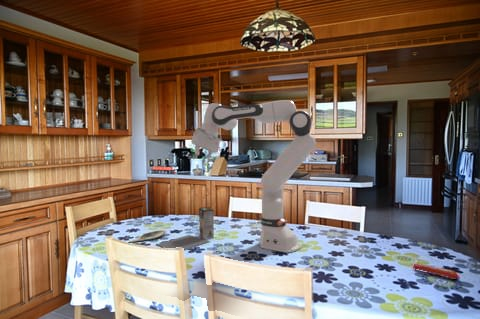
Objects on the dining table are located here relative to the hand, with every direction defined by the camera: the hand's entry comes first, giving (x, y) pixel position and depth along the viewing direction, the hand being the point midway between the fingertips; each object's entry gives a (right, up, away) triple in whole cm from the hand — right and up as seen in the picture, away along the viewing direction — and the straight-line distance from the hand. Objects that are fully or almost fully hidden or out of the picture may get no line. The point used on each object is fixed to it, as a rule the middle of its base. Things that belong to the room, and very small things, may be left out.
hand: (202, 156), depth 172 cm
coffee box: (+1, -46, +9) cm, 46 cm away
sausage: (+99, -48, -44) cm, 119 cm away
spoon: (-35, -47, +2) cm, 58 cm away
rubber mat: (-10, -46, -3) cm, 47 cm away
